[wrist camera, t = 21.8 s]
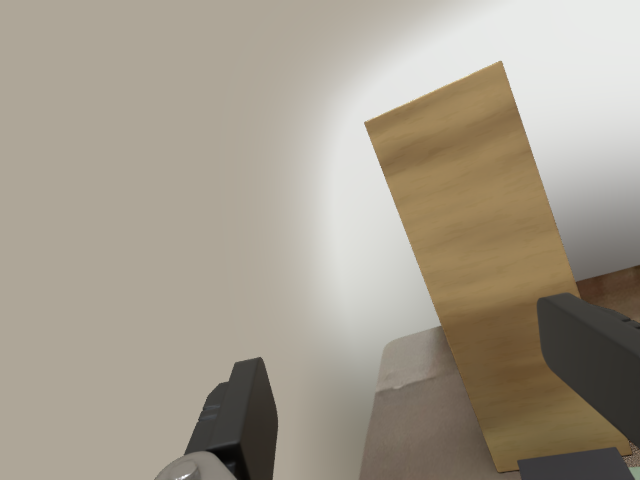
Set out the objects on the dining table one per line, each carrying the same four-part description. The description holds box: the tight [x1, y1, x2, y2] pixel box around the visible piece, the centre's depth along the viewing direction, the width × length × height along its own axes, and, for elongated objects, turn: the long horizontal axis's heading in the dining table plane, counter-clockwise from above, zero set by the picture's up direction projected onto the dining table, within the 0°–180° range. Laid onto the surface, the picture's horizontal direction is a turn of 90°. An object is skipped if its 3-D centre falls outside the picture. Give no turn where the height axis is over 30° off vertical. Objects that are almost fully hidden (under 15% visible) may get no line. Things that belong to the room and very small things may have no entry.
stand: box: [364, 61, 632, 472], centre depth 44 cm, size 28×10×31 cm, turn 164°
